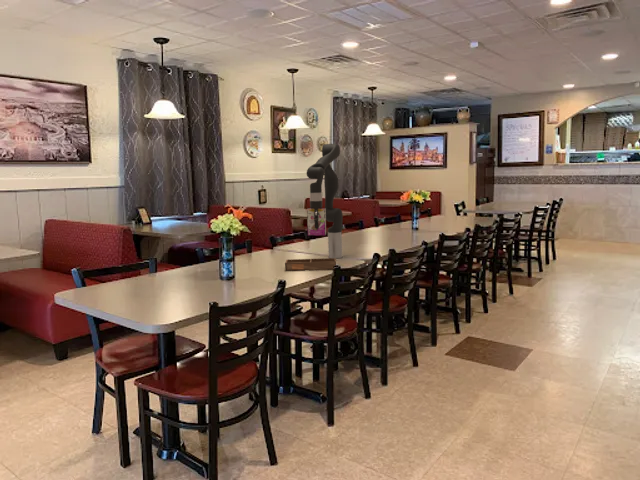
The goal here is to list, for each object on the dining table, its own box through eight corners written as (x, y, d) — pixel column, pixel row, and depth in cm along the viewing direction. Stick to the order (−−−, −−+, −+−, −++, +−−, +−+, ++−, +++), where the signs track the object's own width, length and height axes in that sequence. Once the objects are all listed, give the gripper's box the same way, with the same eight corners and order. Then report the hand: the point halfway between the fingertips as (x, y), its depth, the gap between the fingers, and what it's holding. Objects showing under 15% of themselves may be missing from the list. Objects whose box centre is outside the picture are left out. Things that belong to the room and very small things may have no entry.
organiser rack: (286, 267, 310) (286, 259, 309) (336, 266, 309) (335, 258, 308) (285, 271, 299) (284, 263, 298) (336, 269, 298) (336, 261, 297)
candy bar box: (307, 235, 306) (306, 209, 304) (308, 234, 311) (307, 208, 309) (325, 235, 305) (325, 208, 303) (326, 234, 310) (325, 208, 308)
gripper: (322, 200, 298) (322, 229, 301) (322, 199, 313) (322, 226, 315) (309, 201, 298) (310, 229, 301) (310, 199, 313) (311, 226, 315)
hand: (316, 227), depth 308 cm, fingers closed on candy bar box, 5 cm apart
